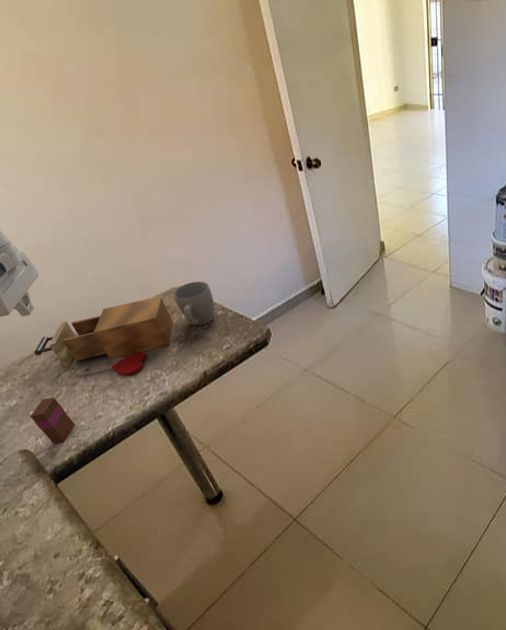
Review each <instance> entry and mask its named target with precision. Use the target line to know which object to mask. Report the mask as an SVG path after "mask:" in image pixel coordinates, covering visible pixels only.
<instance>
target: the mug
mask: <svg viewBox="0 0 506 630" xmlns="http://www.w3.org/2000/svg"><path fill="white" fill-rule="evenodd" d="M173 299H174V302H175V303H176V305H177V306H178V309H179V310H180V311H181V313H182V314H183V315H184V317H185V320H187V322H188V323H189V324H190V325H195V326H202V324H203V325H205V323H206V324H208V323H210V322H211V321H212V320H213V319H214V311H215V303H214V297H213V293H212V291H211V288H210V286H209V284H208V283H207V282H205V281H192V282H188V283H186V284H182V285H181V286H179V287H178V288H176V289H175V290H174V292H173ZM212 318H213V319H212ZM211 319H212V320H211ZM210 320H211V321H210ZM209 321H210V322H209ZM207 322H208V323H207Z"/></svg>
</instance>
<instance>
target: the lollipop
mask: <svg viewBox="0 0 506 630" xmlns="http://www.w3.org/2000/svg"><path fill="white" fill-rule="evenodd" d="M146 359H147V354H146V353H145V352H144V351H143V352H137V353H133V354H131V355H127V356H124V357H122V358H121V359H120V360H118V361H117V362H115V363H114V364H113V365H112V366H110V367H106V368H101V369H96V370H91V371H86V372H81V373H76V374H75V375H74V376H75V377H79V376H83V375H89V374H92V373H97V372H98V373H99V372H101V371H107V370H112V371H113V372H115V373H116V374H118V375H119V376H120V375H121V376H131V375H135V374H137V373H138V372H140V371H141V370H142V368H143V366H144V364H143V362H144V361H145V360H146Z"/></svg>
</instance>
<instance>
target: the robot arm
mask: <svg viewBox="0 0 506 630" xmlns="http://www.w3.org/2000/svg"><path fill="white" fill-rule="evenodd" d="M38 278H39V272H38V269H37V267H36V266H35V265H34V263H33V262H32V261H31V259H30V258H29V257H28V255H27V254H26V253H25V252H24V251H22V250H19V249H18V247H17V246H15V245H13V243H12V241H11V239H9V237H8V236H7V235H5V234H4V233H3V231H2V230H1V229H0V318H2V317H6V316H9V315H11V313H12V312H13V311H14V310H15V311H17V313H18V314H19V315H20V316H21V317H27V316H28V317H29V316H30V315H31V314H32V312H33V310H34V309H35V307H34V305H33V304H32V301H31V297H30V296H31V295H30V293H29V292H28V291H29V289H30V288H31V287H32V285H33V284H34V283H35V281H36V280H37V279H38Z"/></svg>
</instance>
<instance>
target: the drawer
mask: <svg viewBox="0 0 506 630" xmlns="http://www.w3.org/2000/svg"><path fill="white" fill-rule="evenodd" d="M100 316H101V315H98V316H93V317H88V318H83V319H80V320H76V321H72V322H71V326H72V327H73V329H74V330H75V332H76V334H77V335H76V334H75V332H74V330H73V329H72V328H71V326H70V325H69V323H68V322H67V321H61V322H60V324H59V325H58V328H57V329H56V331H55V333H54V334H53V336H50V337H48V336H42V337H41V340H40V341H39V343H38V345H37V346H36V348H35V350H34V352H33V354H34V355H36V356H41V355H42V354H43V353H47V352H49V351H53V353H54V355H55V356H56V357H57V358H58V360H59V362H60V363H61V364H62V366H63V367H68V366H70V365H71V363H72V361H73V359H74V360H75V361H76V362H78V361H81V360H85V359H89V358H94V357H98V356H103V355H107V353H106V352H105V350H104V348H103V347H102V345H101V343H100V342H99V340H98V339H97V337H96V335H95V334H94V330H95V328H96V326H97V323H98V321H99V318H100ZM49 341H50V342H49ZM47 345H48V346H49V347H47Z"/></svg>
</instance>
